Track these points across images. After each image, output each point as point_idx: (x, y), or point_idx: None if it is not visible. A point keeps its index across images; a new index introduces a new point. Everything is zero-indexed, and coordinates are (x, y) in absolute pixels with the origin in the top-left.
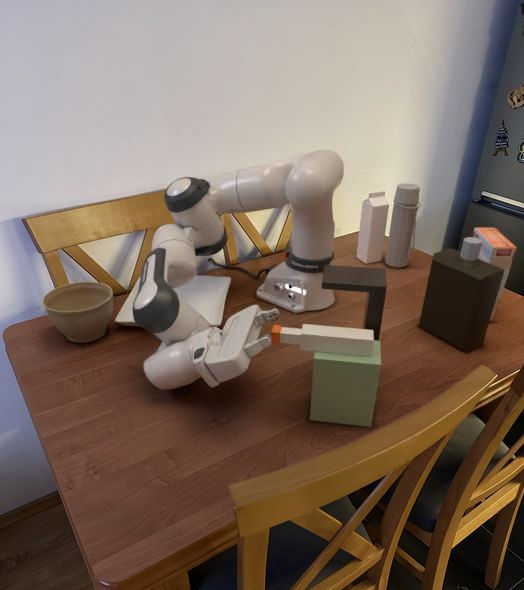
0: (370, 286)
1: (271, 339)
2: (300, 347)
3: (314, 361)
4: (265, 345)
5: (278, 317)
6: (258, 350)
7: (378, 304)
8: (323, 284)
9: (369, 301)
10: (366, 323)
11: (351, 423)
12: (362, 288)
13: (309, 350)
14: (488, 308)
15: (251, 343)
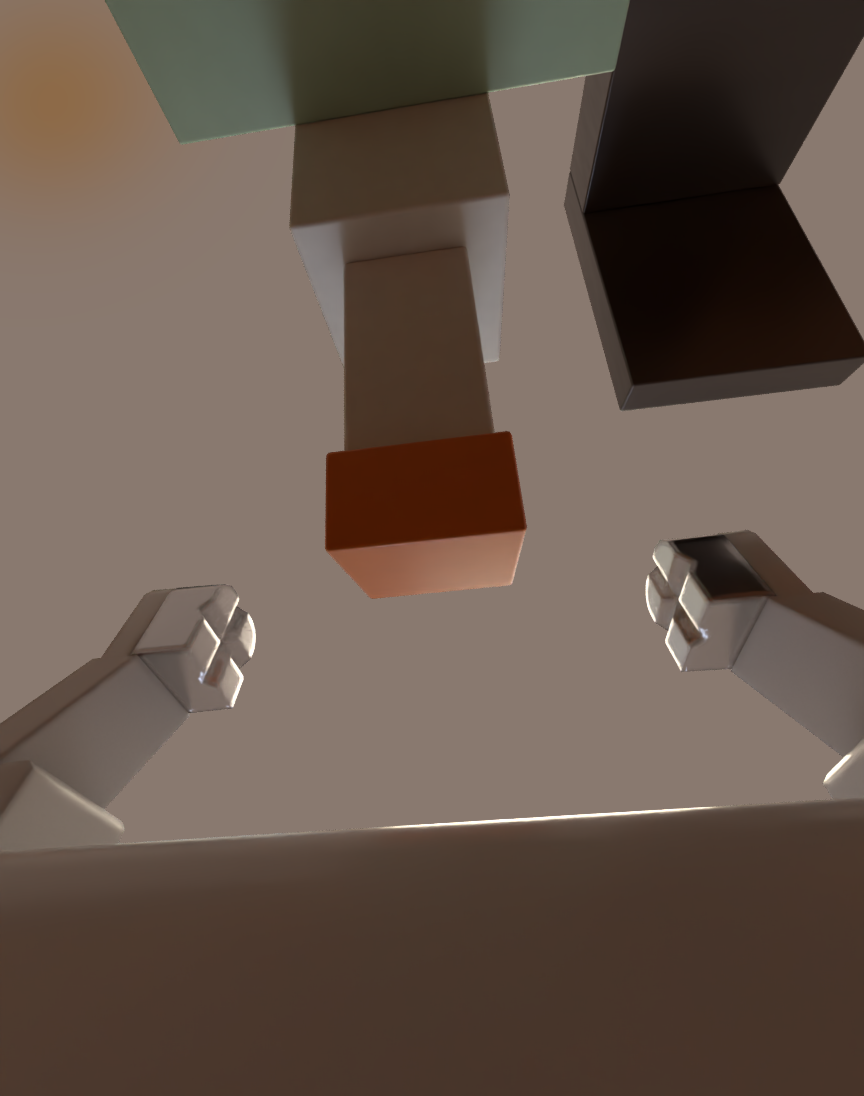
0: (576, 244)
1: (222, 594)
2: (302, 259)
3: (156, 91)
4: (136, 640)
5: (659, 546)
6: (47, 713)
7: (585, 118)
8: (620, 397)
9: (591, 160)
10: None
11: None
12: (585, 254)
13: (295, 168)
14: None
15: (111, 798)
